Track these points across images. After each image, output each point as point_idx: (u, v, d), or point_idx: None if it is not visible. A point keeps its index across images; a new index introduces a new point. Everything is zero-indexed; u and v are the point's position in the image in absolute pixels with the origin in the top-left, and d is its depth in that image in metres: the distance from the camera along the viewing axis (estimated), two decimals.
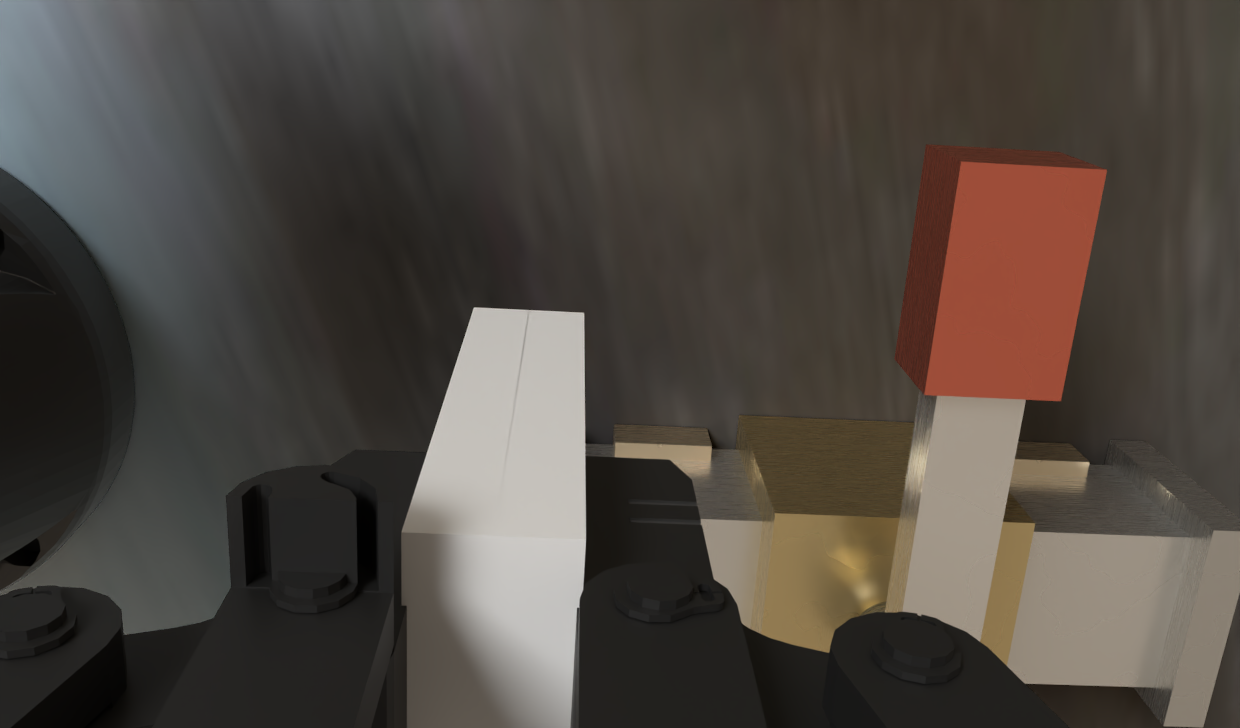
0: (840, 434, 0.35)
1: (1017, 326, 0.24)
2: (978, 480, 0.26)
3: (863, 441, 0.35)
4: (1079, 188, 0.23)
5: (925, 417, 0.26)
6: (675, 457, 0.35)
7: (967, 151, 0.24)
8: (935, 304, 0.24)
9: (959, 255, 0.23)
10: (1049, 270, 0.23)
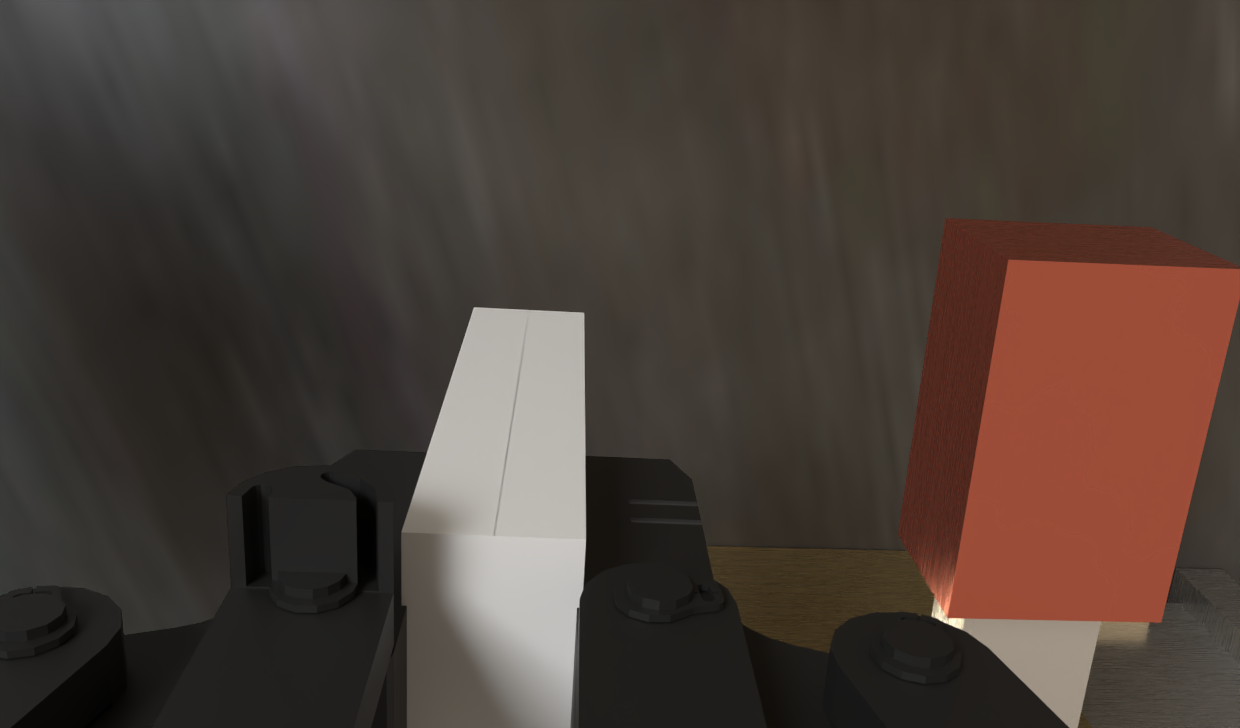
0: (822, 575, 0.26)
1: (1095, 513, 0.15)
2: None
3: (852, 587, 0.26)
4: (1200, 299, 0.14)
5: None
6: None
7: (1012, 232, 0.15)
8: (964, 480, 0.15)
9: (1005, 407, 0.14)
10: (1148, 427, 0.15)
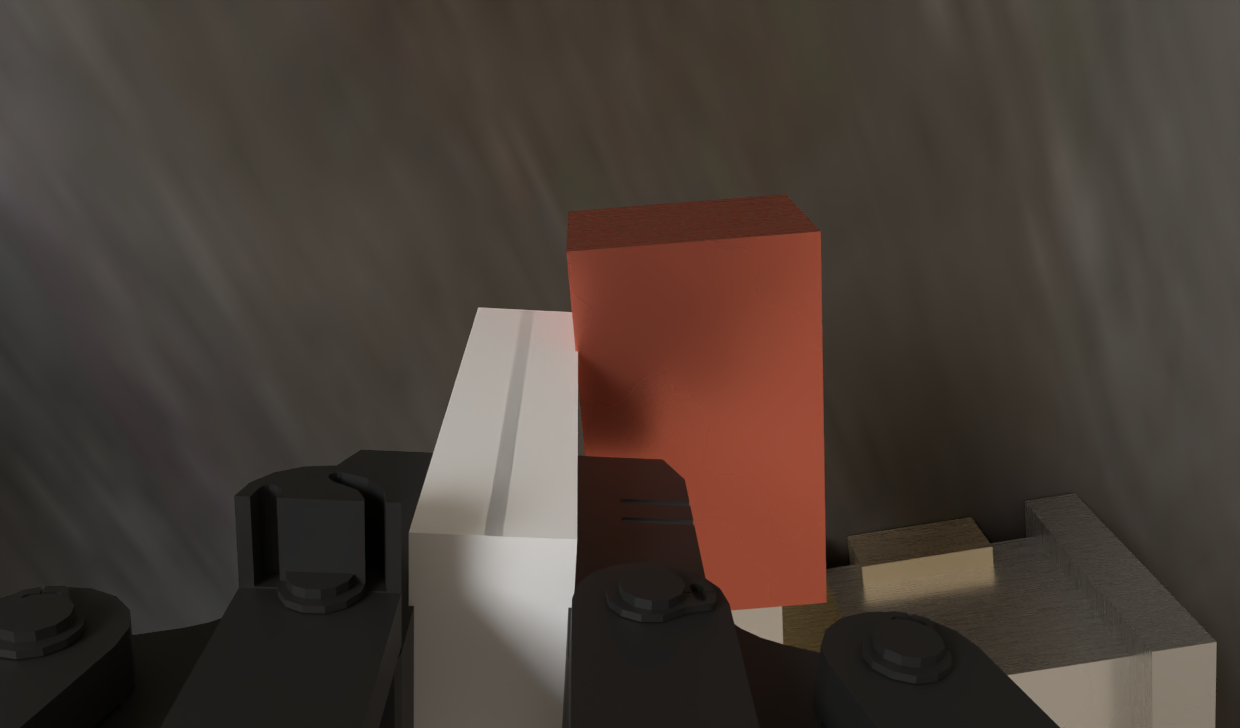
0: None
1: (726, 499, 0.14)
2: None
3: None
4: (779, 268, 0.13)
5: None
6: None
7: (618, 219, 0.15)
8: None
9: (602, 402, 0.14)
10: (760, 405, 0.14)
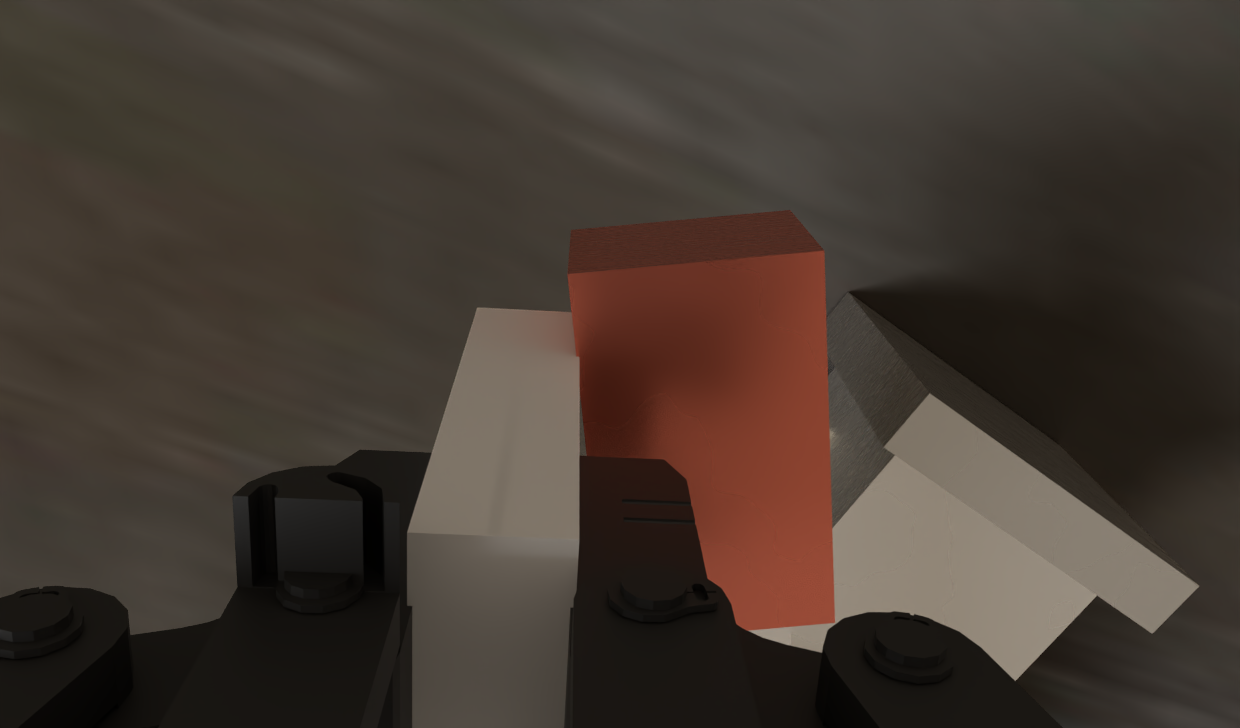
0: None
1: (733, 520, 0.14)
2: None
3: None
4: (783, 288, 0.13)
5: None
6: None
7: (620, 238, 0.15)
8: None
9: (606, 424, 0.14)
10: (765, 426, 0.14)
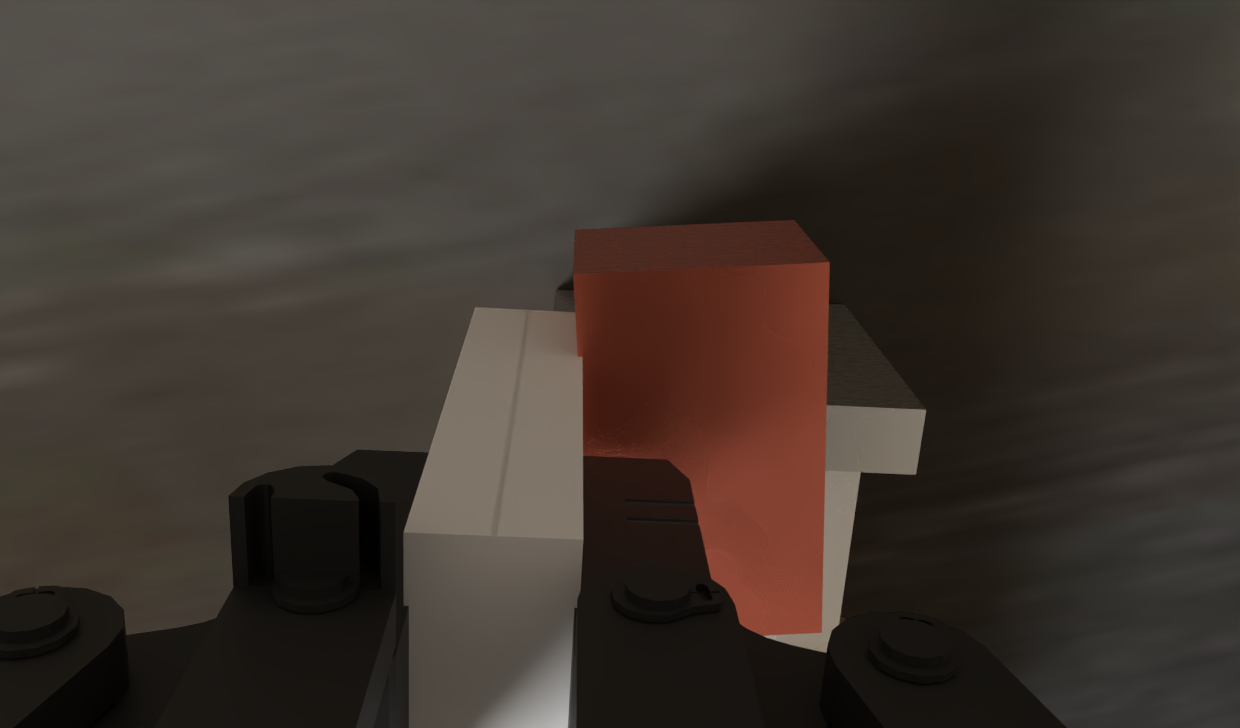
0: None
1: (725, 526, 0.14)
2: None
3: None
4: (787, 297, 0.13)
5: None
6: None
7: (625, 240, 0.15)
8: None
9: (604, 426, 0.14)
10: (762, 434, 0.14)
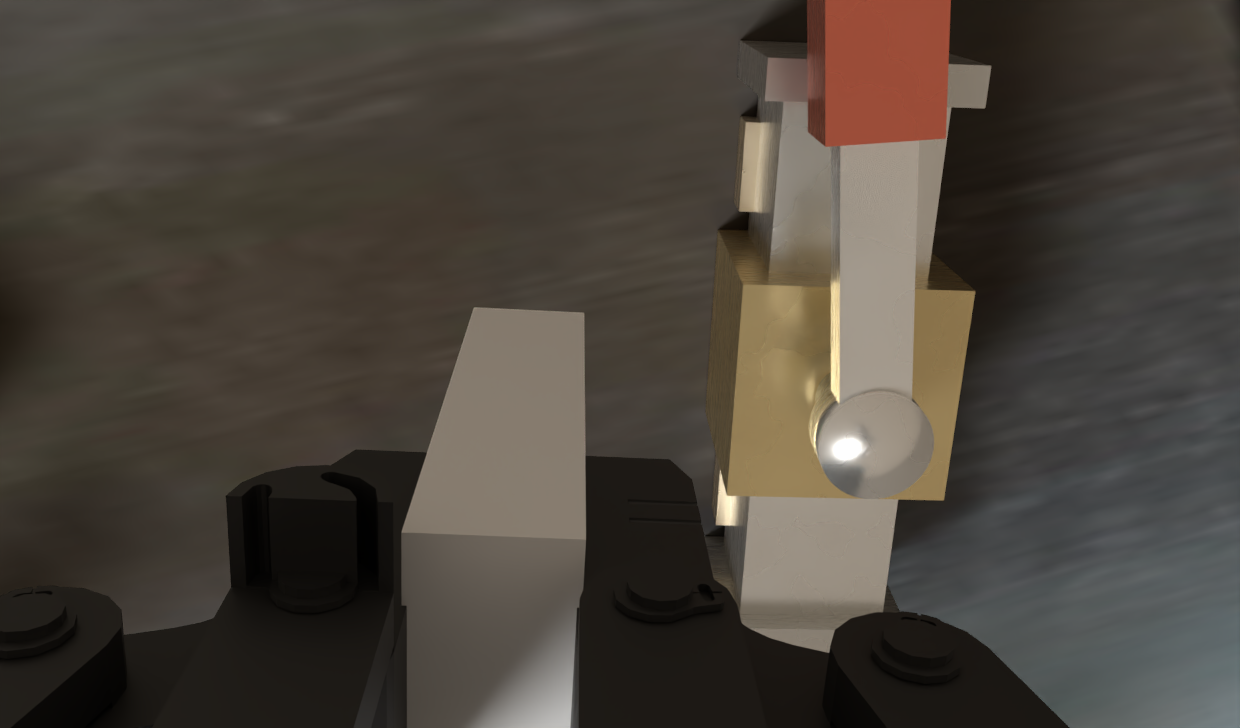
0: (714, 347, 0.40)
1: (897, 74, 0.28)
2: (888, 223, 0.29)
3: (716, 336, 0.40)
4: None
5: (835, 175, 0.30)
6: None
7: None
8: (824, 64, 0.28)
9: (837, 17, 0.27)
10: (917, 20, 0.27)
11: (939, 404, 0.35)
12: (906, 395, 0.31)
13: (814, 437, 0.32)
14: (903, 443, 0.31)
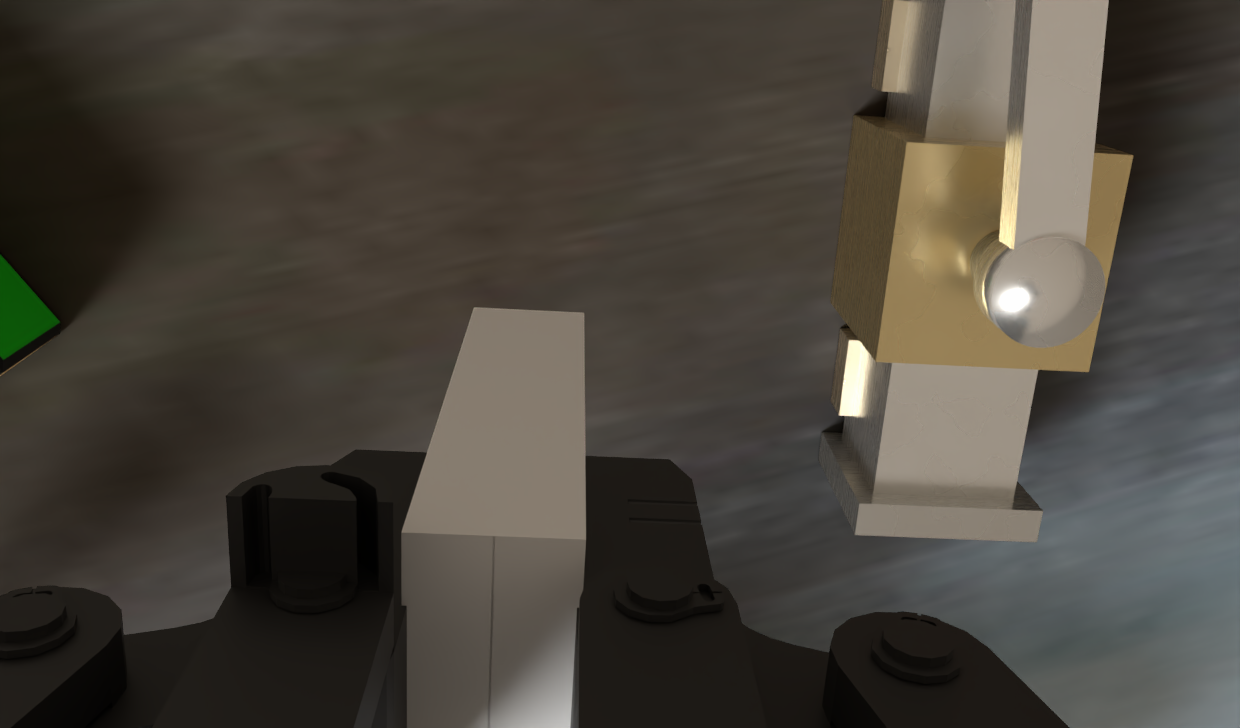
0: (848, 232, 0.41)
1: None
2: (1075, 61, 0.30)
3: (853, 218, 0.40)
4: None
5: (1023, 13, 0.30)
6: (856, 368, 0.42)
7: None
8: None
9: None
10: None
11: None
12: (1080, 241, 0.31)
13: (983, 286, 0.32)
14: (1075, 290, 0.32)
